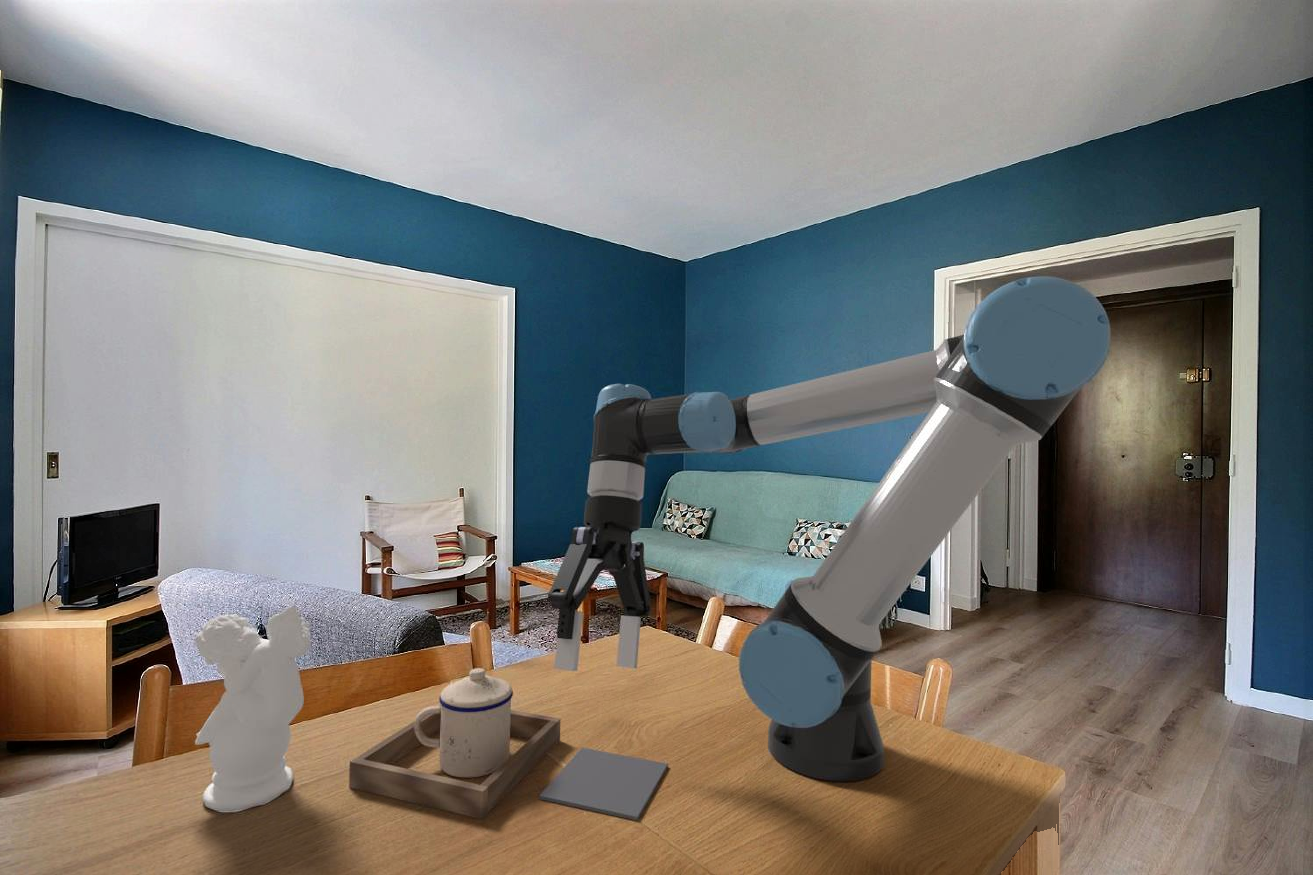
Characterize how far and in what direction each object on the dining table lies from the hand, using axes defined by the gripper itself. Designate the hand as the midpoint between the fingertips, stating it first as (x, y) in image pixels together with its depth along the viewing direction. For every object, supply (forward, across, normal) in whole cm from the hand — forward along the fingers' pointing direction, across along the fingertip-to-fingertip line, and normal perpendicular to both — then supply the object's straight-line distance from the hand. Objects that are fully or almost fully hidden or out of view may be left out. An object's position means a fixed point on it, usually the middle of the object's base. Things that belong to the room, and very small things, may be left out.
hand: (598, 668), depth 76 cm
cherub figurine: (+16, +17, -34) cm, 41 cm away
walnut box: (+13, +2, -18) cm, 22 cm away
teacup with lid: (+13, +2, -18) cm, 22 cm away
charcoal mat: (+13, -4, 0) cm, 14 cm away
